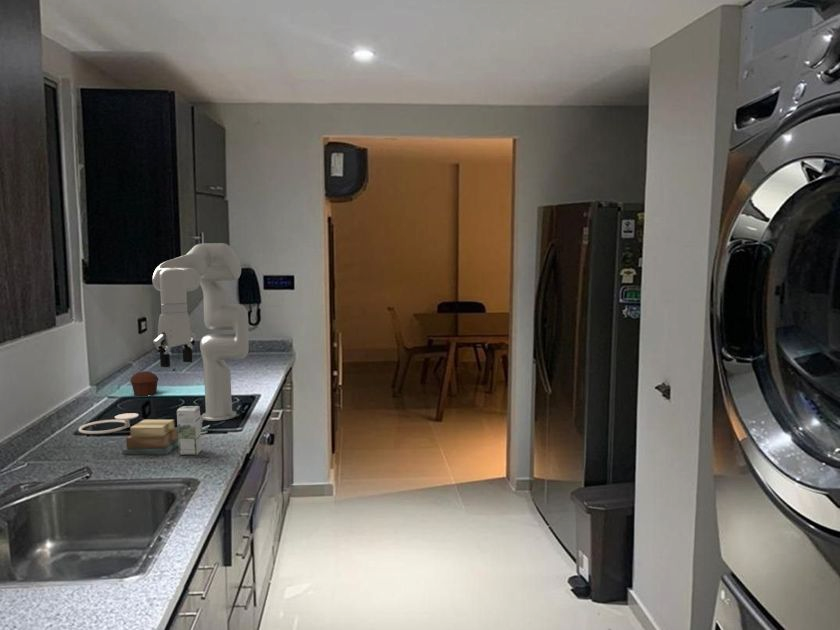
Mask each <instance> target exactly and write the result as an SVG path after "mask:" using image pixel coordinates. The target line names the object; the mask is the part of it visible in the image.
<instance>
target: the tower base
mask: <svg viewBox="0 0 840 630" xmlns="http://www.w3.org/2000/svg"><path fill="white" fill-rule="evenodd" d="M129 428H130V429H129V430H130V435H129V436H127V437H125V438H126V439H125V440H126V441H125V442H126V447H124V448H122V449H121V450H122V455H167V454H169V453H170V452H172V451H173V450H175V449H176V448H177V447H179V444H178V427H175V419H143V420H141V421H139V422H137V423H136V424H134V425H132V426H130V427H129Z"/></svg>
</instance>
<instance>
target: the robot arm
mask: <svg viewBox="0 0 840 630" xmlns="http://www.w3.org/2000/svg"><path fill="white" fill-rule="evenodd" d="M241 274H242V265H241V262H240V259H239V258H238V256H237V254H236V252H235V250H234V249H233V248H232V247H231V246H230V245H229V244H228V243H223V242H219V243H218V242H214V243H208V242H206V243H198V244H195V245H194V246H193V247H192V248H191V249H190V250H189V251H188V252H187V253H186V254H184V255H181V256H178V257H175V258H172V259H169V260H166V261H163V262H162V263H160V264H158V266H157V267H156V268H155V270H154V272H153V275H152V277H151V278H152V285H153V288H155V290H157V291H158V292H160V305H161V306H160V308H161V311H160V312H161V314H159V318H158V323H157V337H156V338H155V339H154V340H153V343H152V344H153V345H154V346H155V350H156V351H157V353H158V354H159V360H160V363H159V364H160V367H161V368H170V367H171V357H170V356H171V355H170V353H169V352H170V350H171V348H174V347H179V346H180V347H181V346H182V347H183V348H182V361H183V363H192V362H193V349H194V345H195V344H196V338H197V334H196V333H195V332H193V331H192V329H191V321H190V316H189V312H188V299H187V298H188V297H187V296H188V295H187V292H192V291H195V290H197V289H198V288H199V286H200V287H201V290H202V294H203V321H204V326H205V328H206V329H208V330H212V331H231V330H232V331H234V333H210V334H206V335H203V337H202V338H201V339H200V342H199V348H200V354H201V358H202V364H203V365H202V367H203V378H204V379H203V380H204V381H203V382H204V383H203V384H204V400H205V412H204V413H202V417H203V421H208V422H210V421H211V422H216V421H217V422H219V421H226V420H230V419H234V418H235V417H236V416H237V412H236V411H235V410H233V401H232V399H233V398H232V382H231V380H232V379H231V375H232V374H231V369H230V367H229V365H228V364H227V362H226V361H225V360H243V359H245V358H247V356H248V354H249V344H250V343H249V341H250V340H249V339H250V336H249V314H248V309H247V308H246V307H245V306H244V305H242V304H239V303H237V304H235V303H233V304H230V303H229V302H228V291H227V289H226V286H224V285H223V283H222V281H225V282H227V281H232V282H233V281H236V280H238V279H239V278H240V276H241ZM228 303H229V304H228Z"/></svg>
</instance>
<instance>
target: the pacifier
mask: <svg viewBox="0 0 840 630" xmlns="http://www.w3.org/2000/svg"><path fill="white" fill-rule="evenodd" d="M203 422H204V419H203V417H202V415H201V414H200V429H201V435H203V434H207V433H208V428H209V427H210V426H211V425H210V424H208V425H206V426H204V427H203Z"/></svg>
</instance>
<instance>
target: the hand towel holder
mask: <svg viewBox="0 0 840 630" xmlns="http://www.w3.org/2000/svg"><path fill="white" fill-rule="evenodd" d="M138 417H139V413H135V412H133V413H131V412H130V413H128V412H126V413H122V414H118V415H115V416H114V419H103V420H98V421H92V422H89V423H84V424H83V425H80V426H79V428H78V432H79V433H80V434H85V435H103V434H110V433H116V432H121V431H122V430H125V429H127V428H131V423H130V420H133V419H136V418H138ZM107 423H123V424H124V425H123V426H120V427H117V428H111V429H107V430H84V429H85V428H87V427H90V426H94V425H100V424H107Z"/></svg>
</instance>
